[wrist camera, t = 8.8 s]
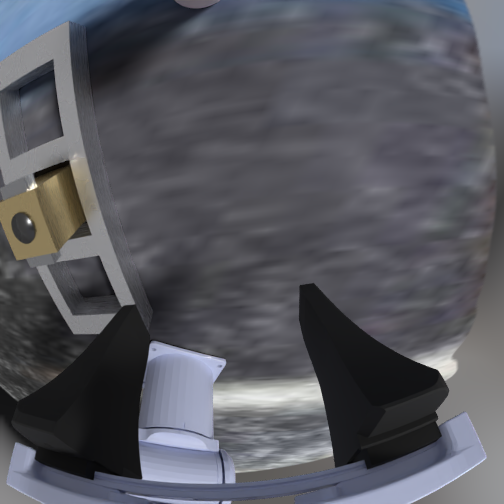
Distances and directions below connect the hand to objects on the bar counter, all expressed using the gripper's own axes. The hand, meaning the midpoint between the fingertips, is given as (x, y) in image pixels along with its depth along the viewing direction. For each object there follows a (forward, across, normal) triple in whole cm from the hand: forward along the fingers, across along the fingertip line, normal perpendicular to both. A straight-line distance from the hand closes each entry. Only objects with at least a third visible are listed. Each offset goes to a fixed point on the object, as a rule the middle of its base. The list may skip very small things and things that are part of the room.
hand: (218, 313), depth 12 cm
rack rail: (+9, +11, -4) cm, 15 cm away
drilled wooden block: (+10, +11, -4) cm, 15 cm away
